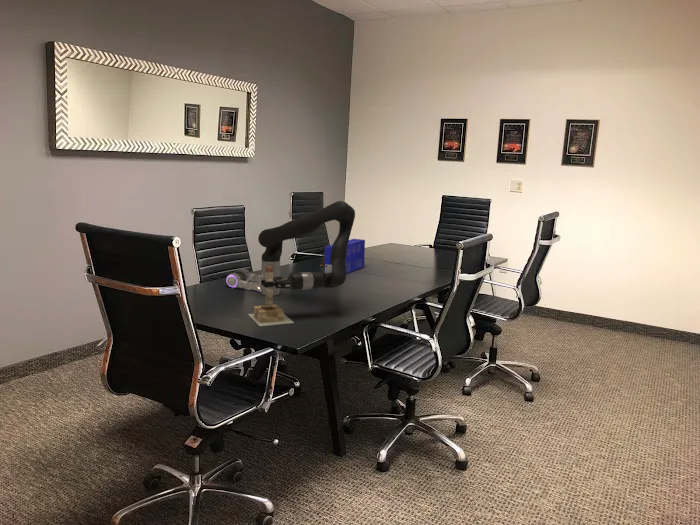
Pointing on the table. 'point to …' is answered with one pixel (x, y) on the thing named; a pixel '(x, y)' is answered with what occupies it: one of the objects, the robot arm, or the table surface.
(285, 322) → the mat
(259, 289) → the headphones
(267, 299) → the peg
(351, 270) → the toner cartridge box
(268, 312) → the wooden square frame
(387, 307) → the table surface
